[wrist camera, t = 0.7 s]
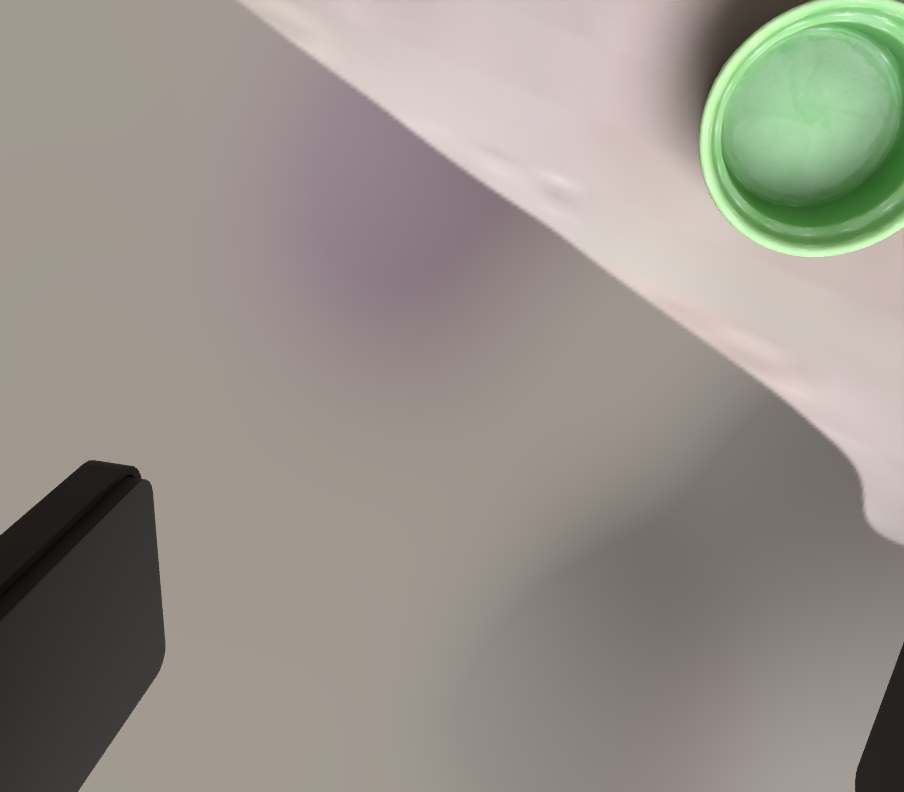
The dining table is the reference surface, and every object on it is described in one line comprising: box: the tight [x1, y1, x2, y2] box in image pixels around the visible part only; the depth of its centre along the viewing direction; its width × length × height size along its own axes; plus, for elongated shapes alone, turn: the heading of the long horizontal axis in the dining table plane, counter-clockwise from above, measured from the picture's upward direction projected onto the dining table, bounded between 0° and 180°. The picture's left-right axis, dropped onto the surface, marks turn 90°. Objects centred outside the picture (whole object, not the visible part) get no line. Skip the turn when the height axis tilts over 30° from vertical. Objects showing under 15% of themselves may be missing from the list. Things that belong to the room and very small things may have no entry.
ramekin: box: [699, 0, 904, 257], centre depth 32 cm, size 9×9×4 cm
